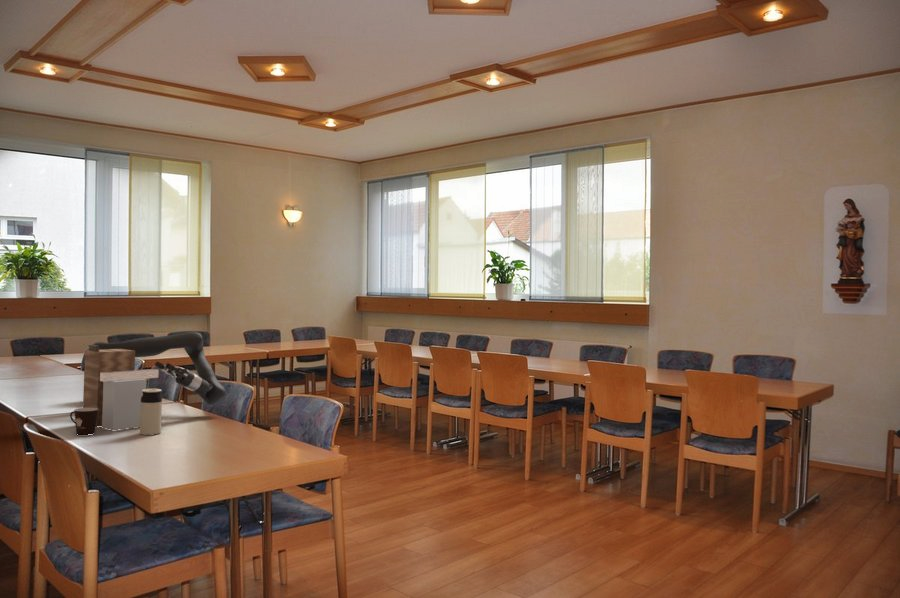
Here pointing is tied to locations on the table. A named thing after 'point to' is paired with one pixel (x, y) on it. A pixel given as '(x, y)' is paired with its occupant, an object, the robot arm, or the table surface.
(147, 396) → the travel mug
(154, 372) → the light wooden bar
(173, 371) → the robot arm
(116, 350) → the walnut stand
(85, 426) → the coffee mug
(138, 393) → the grey block
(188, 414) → the table surface
